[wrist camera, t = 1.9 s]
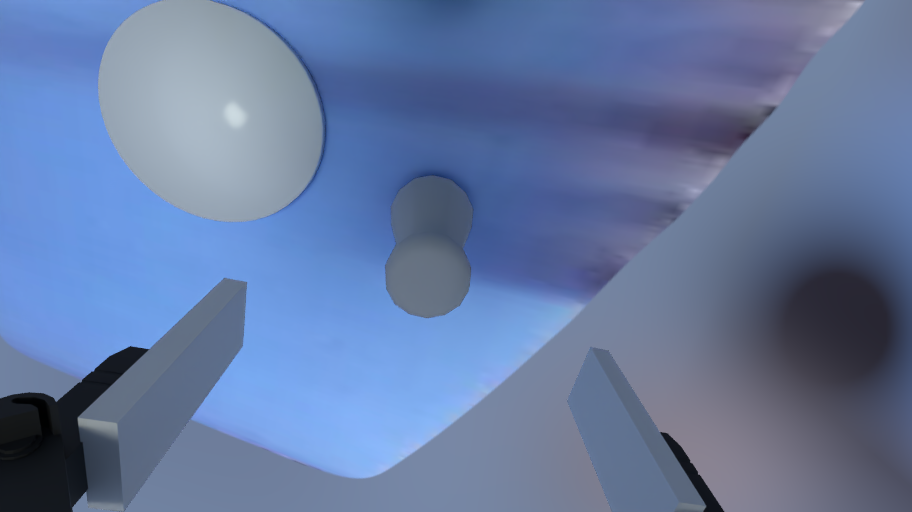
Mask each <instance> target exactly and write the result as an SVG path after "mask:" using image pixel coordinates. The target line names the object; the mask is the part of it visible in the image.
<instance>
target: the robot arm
mask: <svg viewBox="0 0 912 512" xmlns="http://www.w3.org/2000/svg"><path fill="white" fill-rule="evenodd" d="M246 289H247V282H243V281H238V280H233V279H227V278H224V279H223V280H222V281H221V282H220V283H219V284H218V285H217V286H215V287H214V288H213V289H212V290H211V291H210V292H209V293H208V294H207V295H206V296H205V297H204V298H203V299H202V300H201V301H200V302H199V303H198V304H197V305H195V306H194V307H193V308H192V309H191V310H190V311H189V312H188V313H187V314H186V315H185V316H184V317H183V318H182V319H181V320H180V321H179V322H178V323H177V324H176V325H174V326H173V327H172V328H171V329H170V330H169V331H168V332H167V333H166V334H165V335H164V336H163V337H162V338H161V339H160V340H159V341H158V342H157V343H156V344H154V345H153V346H152V347H151V348H150V349H144V348H138V347H131V346H130V347H128V348H126V349H124V350H122V351H120V352H118V353H115V354H113V355H111V356H109V357H108V358H107V359H106V360H105V361H104V362H102V363H101V364H100V365H99V366H98V367H97V368H95V370H94V372H91V373H90V374H88V375H87V376H86V377H85V378H84V379H83V380H82V382H81V383H78V384H77V385H76V386H74V388H72V389H71V390H70V391H69V392H67V393H66V394H65V395H64V396H63V397H62V398H60V399H59V400H58V401H57V402H56V401H55V400H54V398H53V397H50V396H48V395H46V394H43V393H30V392H29V393H22V394H14V395H10V396H7V397H4V398H0V512H73V511H72V507H73V506H74V505H75V504H76V502H77V501H78V500H79V499H80V498H81V496H82V495H83V494H84V493H85V492H87V501H88V508H95V509H104V510H113V511H121V512H124V511H125V510H126V508H127V507H128V505H129V504H130V503H131V501H132V500H133V498H134V497H135V496H136V494H137V493H138V491H139V490H140V488H141V487H142V486H143V484H144V483H145V481H146V480H147V479H148V477H149V476H150V475H151V473H152V472H153V470H154V469H155V468H156V466H157V465H158V463H159V462H160V461H161V459H162V458H163V457H164V455H165V454H166V452H167V451H168V449H169V448H170V447H171V445H172V444H173V443H174V441H175V440H176V438H177V437H178V436H179V434H180V433H181V431H182V430H183V429H184V427H185V426H186V424H187V423H188V422H189V420H190V419H191V418H192V416H193V415H194V413H195V412H196V411H197V409H198V408H199V406H200V405H201V404H202V402H203V401H204V399H205V398H206V397H207V395H208V394H209V392H210V391H211V390H212V388H213V387H214V385H215V384H216V383H217V381H218V380H219V378H220V377H221V376H222V374H223V373H224V372H225V370H226V369H227V367H228V366H229V365H230V363H231V362H232V360H233V359H234V358H235V356H236V355H237V353H238V352H239V351H240V349H241V348H242V346H243V335H244V320H245V305H246ZM567 402H568V404H569V407H570V409H571V412H572V414H573V417H574V419H575V422H576V424H577V426H578V429H579V432H580V434H581V436H582V439H583V441H584V444H585V446H586V449H587V451H588V454H589V456H590V459H591V461H592V464H593V466H594V469H595V471H596V474H597V476H598V478H599V481H600V483H601V486H602V488H603V491H604V493H605V496H606V498H607V501H608V503H609V506H610V508H611V511H612V512H724V511H723V509H722V508H721V506H720V505H719V503H718V502H717V500H716V498H715V497H714V496H713V494H712V493H711V491H710V490H709V488H708V486H707V485H706V484H705V482H704V480H703V479H702V478H701V476H700V475H698V471H697V470H696V468H695V467H694V465H693V464H692V463H690V459H689V458H688V456H687V455H686V453H685V452H684V450H683V449H682V447H681V446H680V445H679V444H678V443H677V442H676V441H675V440H673V438H672V437H671V436H669V435H668V434H667V433H662V432H659V430H658V428H657V427H656V425H655V424H654V422H653V421H652V419H651V417H650V416H649V414H648V413H647V411H646V410H645V408H644V406H643V405H642V403H641V402H640V400H639V398H638V397H637V395H636V394H635V392H634V390H633V389H632V387H631V386H630V384H629V383H628V381H627V379H626V378H625V376H624V375H623V373H622V372H621V370H620V368H619V367H618V365H617V364H616V362H615V360H614V359H613V357H612V356H611V354H610V352H609V351H608V350H603V349H598V348H592V347H590V349H589V352H588V354H587V356H586V359H585V361H584V363H583V365H582V368H581V370H580V373H579V375H578V377H577V379H576V382H575V384H574V386H573V388H572V391H571V393H570V395H569V398H568V400H567Z"/></svg>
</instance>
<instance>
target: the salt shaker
mask: <svg viewBox="0 0 912 512" xmlns="http://www.w3.org/2000/svg"><path fill="white" fill-rule="evenodd" d="M472 218H473V208H472V205H471V203H470V201H469V199H468V197H467V195H466V193H465V192H464V191H463V190H462V189H461V188H460V187H459V186H458V185H456V184H455V183H454V182H453V181H452V180H451V179H447V178H442V177H438V176H434V175H431V176H425V177H419V178H414V179H413V180H412V181H411V182H409V183H408V184H407V185H405V186H404V187H403V188H401V189H400V190H399V191H398V193H397V195H396V197H395V199H394V201H393V203H392V205H391V226H392V230H393V234H394V238H395V242H396V245H395V247H394V249H393V251H392V253H391V255H390V257H389V258H388V260H387V263H386V265H385V274H386V289H387V291H388V293H389V294H390V296H391V298H392V300H393V302H394V304H395V305H397V306H398V307H400V308H401V309H403V310H404V311H406V312H407V313H408V314H411V315H415V316H420V317H424V318H431V317H436V316H441V315H445V314H447V313H449V312H450V311H452V310H453V309H455V308H456V307H458V306H460V304H461V302H462V301H463V299H464V297H465V296H466V294H467V292H468V291H469V286H470V276H471V266H470V263H469V261H468V259H467V257H466V255H465V253H464V250H463V247H464V245H465V242H466V240H467V237H468V235H469V232H470V230H471V227H472Z"/></svg>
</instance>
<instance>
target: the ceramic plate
mask: <svg viewBox="0 0 912 512" xmlns="http://www.w3.org/2000/svg"><path fill="white" fill-rule="evenodd" d="M98 92H99V102H100V108H101V113H102V117H103V120H104V123H105V126H106V129H107V131H108V134H109V136H110V138H111V140H112V143H113V144H114V146H115V148H116V149H117V151H118V153H119V155H120V156H121V158H122V159H123V160H124V162H125V163H126V164H127V166H128V167H129V169H130V170H131V171H132V172H133V173H134V174H135V175H136V176H137V177H138V179H139V180H140V181H141V182H142V183H144V184H145V185H146V186H147V187H148V188H149V189H150V190H151V191H153V192H154V193H155V194H157V195H158V196H159V197H161V198H162V199H163V200H165V201H167V202H168V203H170V204H172V205H174V206H175V207H177V208H179V209H181V210H184V211H186V212H188V213H190V214H193V215H196V216H199V217H202V218H206V219H211V220H215V221H224V222H244V221H251V220H256V219H260V218H263V217H266V216H269V215H271V214H273V213H276V212H278V211H279V210H281V209H283V208H284V207H286V206H287V205H288V204H290V203H291V202H292V201H293V200H294V199H296V198H297V197H298V196H299V195H300V194H301V193H302V192H303V191H304V190H305V189H306V188H307V186H308V185H309V184H310V182H311V181H312V179H313V178H314V176H315V174H316V172H317V170H318V168H319V165H320V162H321V159H322V156H323V152H324V145H325V118H324V111H323V107H322V102H321V98H320V96H319V93H318V90H317V87H316V85H315V83H314V81H313V79H312V77H311V75H310V73H309V71H308V69H307V68H306V66H305V65H304V63H303V62H302V60H301V58H300V57H299V56H298V55H297V53H296V52H295V51H294V50H293V49H292V47H291V46H290V45H289V44H288V43H287V42H286V41H285V40H284V39H283V38H282V37H281V36H280V35H279V34H278V33H277V32H275V31H274V30H273V29H271V28H270V27H269V26H267V25H266V24H265V23H263V22H262V21H260V20H258V19H256V18H255V17H253V16H251V15H250V14H247V13H245V12H243V11H241V10H238V9H236V8H233V7H230V6H227V5H223V4H220V3H217V2H213V1H209V0H163V1H159V2H156V3H153V4H150V5H148V6H146V7H144V8H142V9H140V10H138V11H136V12H135V13H134V14H132V15H131V16H130V17H128V18H127V19H126V20H125V21H124V22H123V23H122V24H121V25H120V26H119V27H118V28H117V30H116V31H115V32H114V34H113V35H112V37H111V39H110V40H109V42H108V44H107V46H106V49H105V51H104V54H103V56H102V60H101V65H100V69H99V79H98Z"/></svg>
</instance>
